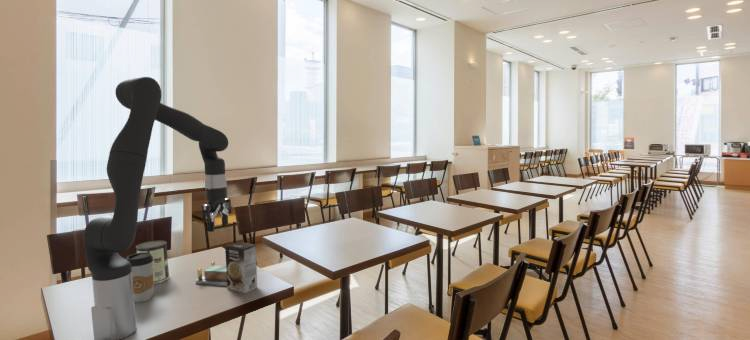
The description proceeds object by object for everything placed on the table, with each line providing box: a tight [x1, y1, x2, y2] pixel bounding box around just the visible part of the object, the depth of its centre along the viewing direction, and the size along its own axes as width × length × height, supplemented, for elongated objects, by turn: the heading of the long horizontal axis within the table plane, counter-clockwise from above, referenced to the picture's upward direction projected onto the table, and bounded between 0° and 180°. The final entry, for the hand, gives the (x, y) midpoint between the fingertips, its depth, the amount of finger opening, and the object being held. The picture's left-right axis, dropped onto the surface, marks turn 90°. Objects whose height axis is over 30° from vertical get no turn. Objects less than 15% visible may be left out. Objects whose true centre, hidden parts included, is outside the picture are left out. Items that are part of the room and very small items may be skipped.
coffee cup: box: [125, 252, 154, 303], centre depth 134 cm, size 8×8×15 cm
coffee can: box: [135, 240, 170, 285], centre depth 150 cm, size 10×10×14 cm
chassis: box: [195, 260, 227, 287], centre depth 150 cm, size 11×14×5 cm
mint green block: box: [204, 265, 227, 280], centre depth 150 cm, size 10×6×3 cm, turn 84°
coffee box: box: [224, 241, 258, 294], centre depth 141 cm, size 9×6×16 cm
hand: (218, 228), depth 148 cm, fingers open, 8 cm apart
